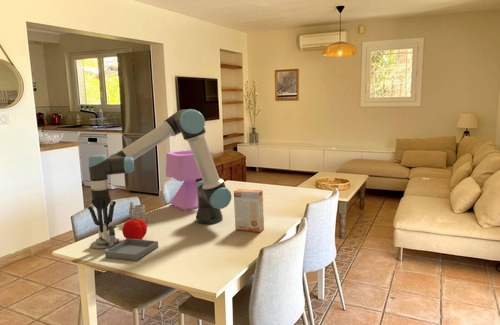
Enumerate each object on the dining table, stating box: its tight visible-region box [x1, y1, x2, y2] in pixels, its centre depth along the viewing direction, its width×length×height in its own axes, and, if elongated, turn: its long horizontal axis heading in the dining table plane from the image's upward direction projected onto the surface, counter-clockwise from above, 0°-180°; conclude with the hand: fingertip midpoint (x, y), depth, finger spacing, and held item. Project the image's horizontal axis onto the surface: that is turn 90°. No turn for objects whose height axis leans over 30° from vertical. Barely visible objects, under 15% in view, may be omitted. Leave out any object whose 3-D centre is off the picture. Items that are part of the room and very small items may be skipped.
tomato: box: [121, 218, 148, 240], centre depth 186 cm, size 12×12×11 cm
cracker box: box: [233, 188, 265, 233], centre depth 193 cm, size 14×6×21 cm, turn 65°
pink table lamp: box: [165, 149, 214, 212], centre depth 246 cm, size 23×23×35 cm
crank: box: [97, 224, 117, 244], centre depth 177 cm, size 15×5×8 cm, turn 40°
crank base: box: [90, 237, 121, 250], centre depth 182 cm, size 13×13×3 cm
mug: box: [128, 201, 148, 223], centre depth 214 cm, size 8×12×12 cm, turn 59°
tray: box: [104, 238, 159, 262], centre depth 170 cm, size 16×16×3 cm
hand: (104, 238), depth 175 cm, fingers closed
